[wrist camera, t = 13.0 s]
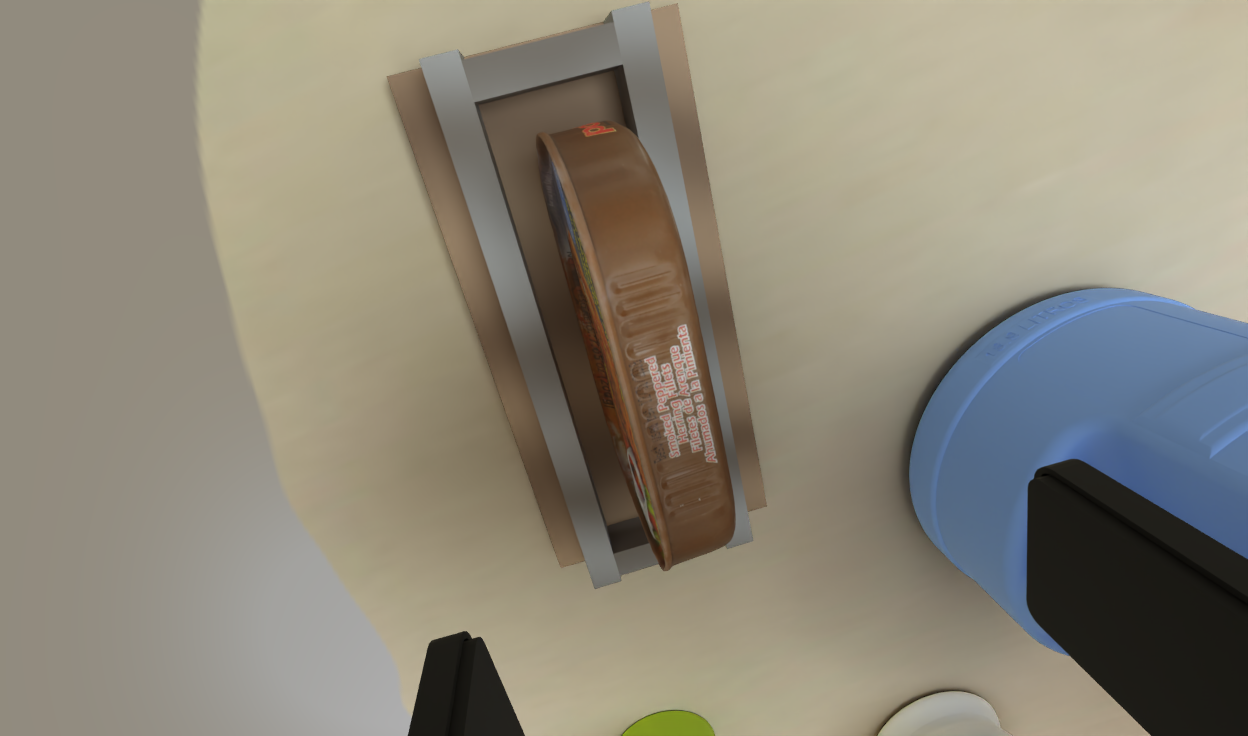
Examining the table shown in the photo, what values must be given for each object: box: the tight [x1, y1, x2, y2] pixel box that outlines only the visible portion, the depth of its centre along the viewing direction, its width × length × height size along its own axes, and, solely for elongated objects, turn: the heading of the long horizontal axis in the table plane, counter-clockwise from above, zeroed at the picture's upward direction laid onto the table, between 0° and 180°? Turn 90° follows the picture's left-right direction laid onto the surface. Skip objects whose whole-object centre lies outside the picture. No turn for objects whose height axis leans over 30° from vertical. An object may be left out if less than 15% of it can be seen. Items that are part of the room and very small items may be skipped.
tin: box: [536, 120, 736, 571], centre depth 20 cm, size 15×3×8 cm, turn 13°
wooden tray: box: [387, 2, 767, 589], centre depth 24 cm, size 21×10×3 cm, turn 14°
